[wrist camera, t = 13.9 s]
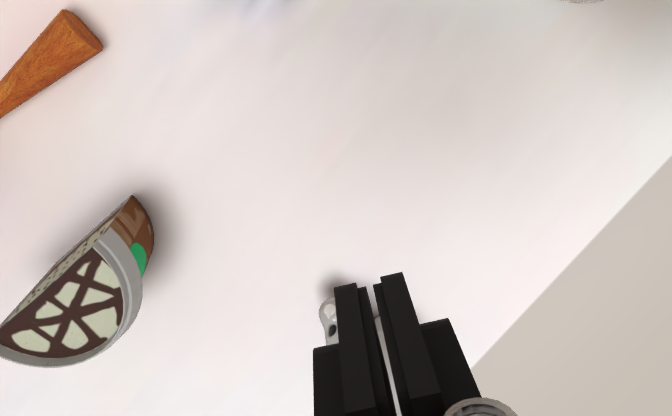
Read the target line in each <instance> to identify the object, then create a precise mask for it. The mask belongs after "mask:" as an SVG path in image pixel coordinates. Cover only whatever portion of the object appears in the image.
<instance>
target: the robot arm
mask: <svg viewBox="0 0 672 416" xmlns="http://www.w3.org/2000/svg"><path fill="white" fill-rule="evenodd" d="M561 1H565V2H574V3H589V2H598V1H602V0H561ZM380 278H381V283H379V284H374V285H373V288H374V292H375V297H376V302H377V306H378V311H379V315H380V320H381V325H382V329H383V334H384V338H385V343H386V348H387V352H388V357H389V361H390V366H391V371H392V375H393V380H394V384H395V389H396V394H397V398H398V402H399V407H400V411H401V415H402V416H517V414H516V413H515V412H514V411H513V410H512V409H511V408H510V407H508V406H507V405H505V404H503V403H501V402H499V401H497V400H493V399H489V398H482V397H481V395H480V392H479V390H478V388H477V385H476V383H475V380H474V378H473V376H472V373H471V371H470V368H469V366H468V364H467V361H466V359H465V356H464V354H463V352H462V349H461V347H460V344H459V342H458V340H457V337H456V335H455V333H454V330H453V328H452V325H451V323H450V321H449V319H448V318H446V319H441V320H437V321H432V322H428V323H424V324H419V322H418V319H417V316H416V313H415V310H414V307H413V304H412V301H411V297H410V294H409V291H408V288H407V285H406V282H405V279H404V276H403V273H402V272H399V273H395V274H391V275H387V276H382V277H380ZM334 295H335V306H336V318H337V329H338V340H339V343H336V344H331V345H327V346H322V347H318V348H314V350H313V383H314V416H397V413H396V409H395V404H394V399H393V394H392V389H391V385H390V380H389V376H388V372H387V368H386V364H385V360H384V356H383V352H382V348H381V344H380V340H379V336H378V332H377V328H376V324H375V320H374V316H373V312H372V308H371V304H370V300H369V296H368V292H367V289H366V287H361V288H357V284H356V283H352V284H348V285H343V286H339V287H335V288H334Z"/></svg>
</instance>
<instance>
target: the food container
mask: <svg viewBox="0 0 672 416" xmlns="http://www.w3.org/2000/svg"><path fill="white" fill-rule="evenodd" d="M153 244H154V233H153V227H152V224H151V221H150V218H149V216H148V214H147V213H146V211H145V209H144V208H143V207H142V205H141V204H140V202H139V201H138V200H137V199H136V198H135V197H134V196H133V195H131V196H130V197H129V198H128V199H127V200H126V201H124V202H123V203H122V204H121V205H120V206H119V207H118V208H117V209H116V210H114V211H113V212H112V213H111V214H110V215H109V216H108V217H107V218H106V219H104V220H103V221H102V222H101V223H100V224H99V225H98V226H97V227H96V228H94V229H93V230H92V231H91V232H90V233H89V234H88V235H87V236H86V237H84V238H83V239H82V240H81V241H80V242H79V243H78V244H77V245H76V246H74V247H73V248H72V249H71V250H70V251H69V252H68V253H67V254H66V255H65V256H63V257H62V258H61V259H60V260H59V261H58V262H57V263H56V264H55V265H54V266H53V267H52V268H51V269H50V270H49V271H48V273H47V274H46V275H45V276H44V277H43V278H42V279H41V280H40V281H39V283H38V284H37V285H36V286H35V287H34V288H33V289H32V290H31V291H30V292H29V294H28V295H27V296H26V297H25V298H24V299H23V300H22V301H21V302H20V304H19V305H18V306H17V307H16V308H15V309H14V310H13V311H12V312H11V314H10V315H9V316H8V317H7V318H6V319H5V320H4V321H3V322H2V323H1V325H0V357H1V358H3V359H5V360H8V361H12V362H15V363H18V364H22V365H27V366H32V367H42V368H58V367H65V366H72V365H75V364H78V363H82V362H84V361H87V360H89V359H91V358H93V357H95V356H96V355H99V354H101V353H102V352H104V351H105V350H107V349H108V348H109V347H111V346H112V345H113V344H114V343H115V342H116V341H117V340H118V339H119V338H120V337H121V336H122V335H123V334H124V333H125V332H126V331H127V330H128V329H129V327H130V326H131V325H132V323H133V322H134V320H135V319H136V316H137V314H138V312H139V309H140V305H141V301H142V280H141V278H142V276H143V273H144V271H145V268H146V265H147V263H148V260H149V258H150V255H151V253H152V250H153Z"/></svg>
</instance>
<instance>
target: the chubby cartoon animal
mask: <svg viewBox="0 0 672 416" xmlns="http://www.w3.org/2000/svg"><path fill="white" fill-rule="evenodd" d="M319 317H320V320H321V323H322V325H323V327H324V330H325V339H326V346H327V345H331V344H336V343H339V340H338V329H337V318H336V306H335V297H331V298H328V299H327V300H325V301H324V302H323V304H322V305H321V307H320V309H319ZM375 324H376V328H377V332H378V336H379V340H380V344H381V348H382V352H383V356H384V360H385V364H386V368H387V372H388V376H389V380H390V385H391V389H392V394H393V399H394V404H395V409H396V413H397V416H402V415H401V411H400V407H399V402H398V398H397V394H396V389H395V384H394V380H393V375H392V371H391V366H390V361H389V357H388V352H387V348H386V343H385V338H384V334H383V329H382V325H381V320H380V316H378V317H377V318H376V319H375Z"/></svg>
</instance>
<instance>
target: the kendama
mask: <svg viewBox="0 0 672 416" xmlns="http://www.w3.org/2000/svg"><path fill="white" fill-rule="evenodd" d="M100 51H102V45H101V43H100V41H99V40H98V38H97V37H96V36H95V35H94V34H93V33H92V32H91V31H90V30H89V29H88V27H87V26H86V25H85V24H84V23H83V22H82V21H81V20H80V19H79V18H78V17H77V16H75V15H74V14H73V13H71V12H69V11H67V10H61V11H60V12H59V14H58V15H57V16H56V17H55V18H54V19H53V21H52V22H51V23H50V24H49V25H48V26H47V28H46V29H45V30H44V31H43V32H42V33H41V35H40V36H39V37H38V38H37V39H36V40H35V41H34V43H33V44H32V45H31V46H30V47H29V48H28V50H27V51H26V52H25V53H24V54H23V55H22V57H21V58H20V59H19V60H18V61H17V62H16V63H15V65H14V66H13V67H12V68H11V69H10V70H9V72H8V73H7V74H6V75H5V76H4V77H3V79H2V80H1V81H0V118H1V117H3V116H4V115H6V114H7V113H9V112H10V111H12V110H13V109H15V108H16V107H18V106H19V105H21V104H22V103H24V102H25V101H27V100H28V99H30V98H31V97H33V96H34V95H36V94H37V93H39V92H40V91H42V90H43V89H45V88H46V87H48V86H49V85H51V84H52V83H54V82H55V81H57V80H58V79H60V78H61V77H63V76H64V75H66V74H67V73H69V72H70V71H72V70H73V69H75V68H76V67H78V66H79V65H81V64H82V63H84V62H85V61H87V60H88V59H90V58H91V57H93V56H94V55H96V54H97V53H99V52H100Z"/></svg>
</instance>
